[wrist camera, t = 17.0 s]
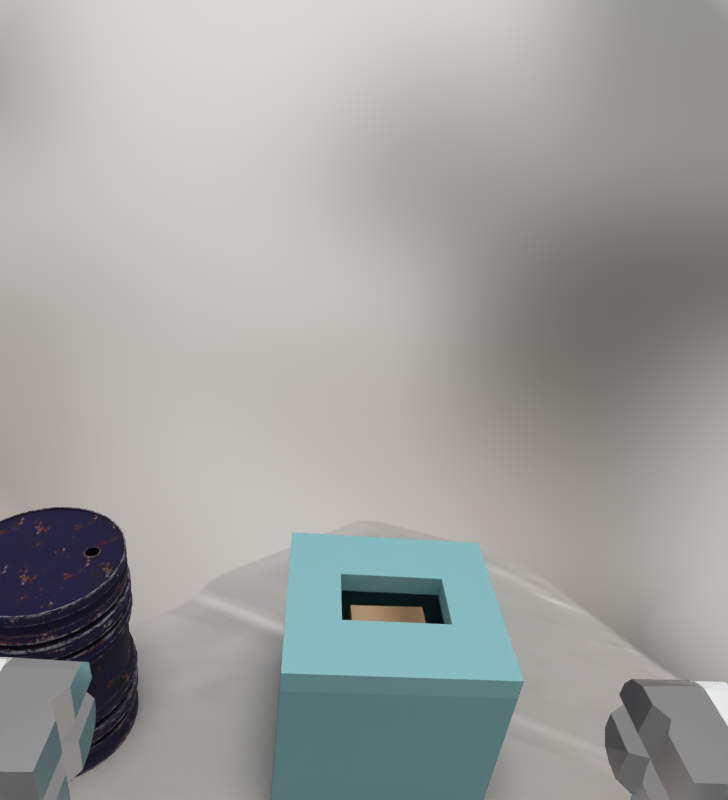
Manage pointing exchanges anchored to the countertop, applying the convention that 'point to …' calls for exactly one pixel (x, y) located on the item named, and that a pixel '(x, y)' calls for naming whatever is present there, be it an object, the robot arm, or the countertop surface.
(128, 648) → the storage jar
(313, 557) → the money box
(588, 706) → the countertop surface
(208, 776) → the countertop surface
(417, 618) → the block
